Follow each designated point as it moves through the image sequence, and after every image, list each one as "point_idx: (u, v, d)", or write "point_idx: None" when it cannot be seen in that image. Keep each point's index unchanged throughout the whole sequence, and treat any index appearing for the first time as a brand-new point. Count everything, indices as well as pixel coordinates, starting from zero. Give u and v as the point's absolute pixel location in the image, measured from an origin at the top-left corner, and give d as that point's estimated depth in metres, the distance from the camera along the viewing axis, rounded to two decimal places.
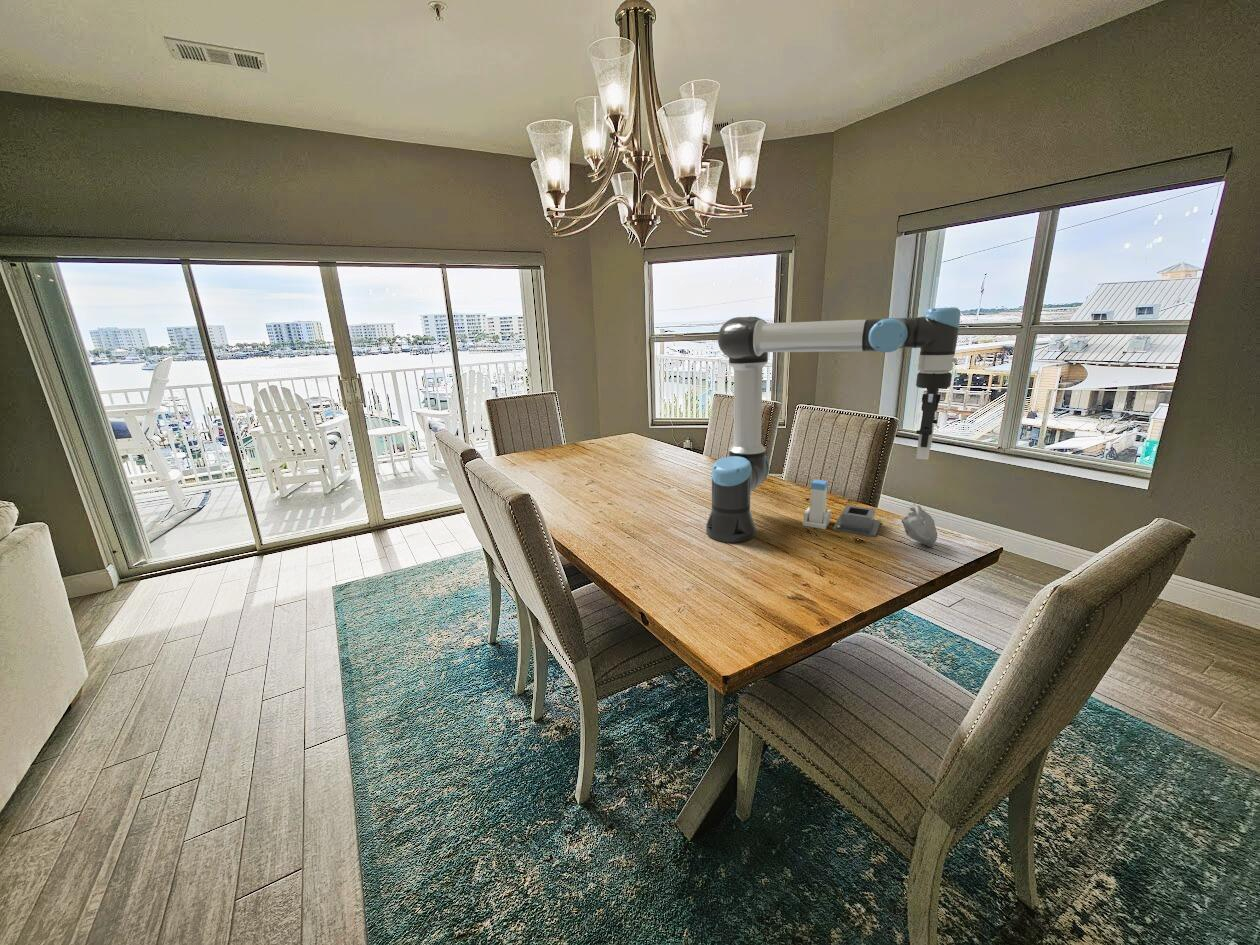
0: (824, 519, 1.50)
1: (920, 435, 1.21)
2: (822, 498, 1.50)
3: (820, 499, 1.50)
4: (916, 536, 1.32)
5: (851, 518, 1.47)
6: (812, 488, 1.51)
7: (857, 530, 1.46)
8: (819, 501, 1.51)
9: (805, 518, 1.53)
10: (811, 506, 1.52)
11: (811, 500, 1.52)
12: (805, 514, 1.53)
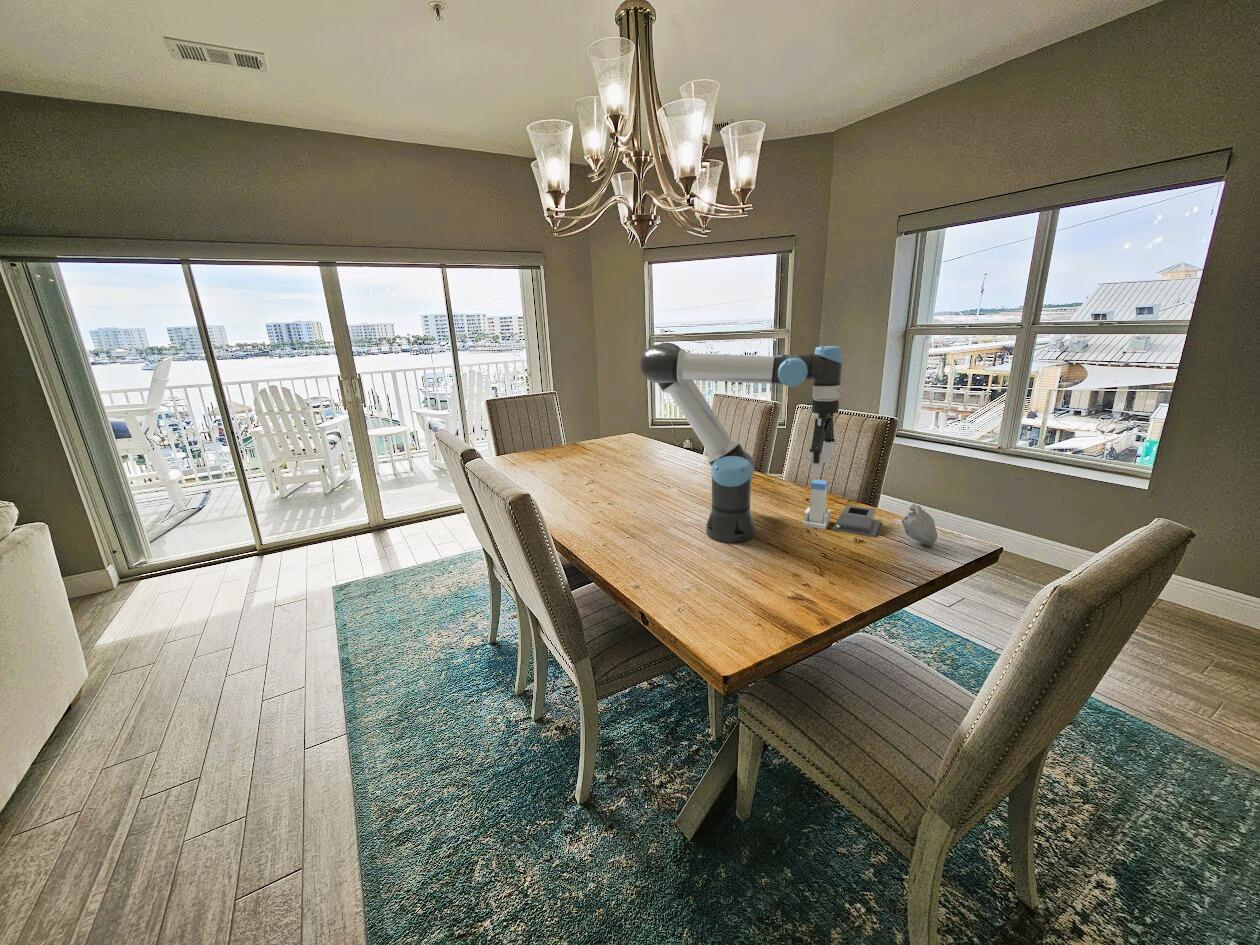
0: (824, 519, 1.50)
1: (813, 453, 1.43)
2: (822, 498, 1.50)
3: (820, 499, 1.50)
4: (916, 536, 1.32)
5: (851, 518, 1.47)
6: (812, 488, 1.51)
7: (857, 530, 1.46)
8: (819, 501, 1.51)
9: (805, 518, 1.53)
10: (811, 506, 1.52)
11: (811, 500, 1.52)
12: (805, 514, 1.53)
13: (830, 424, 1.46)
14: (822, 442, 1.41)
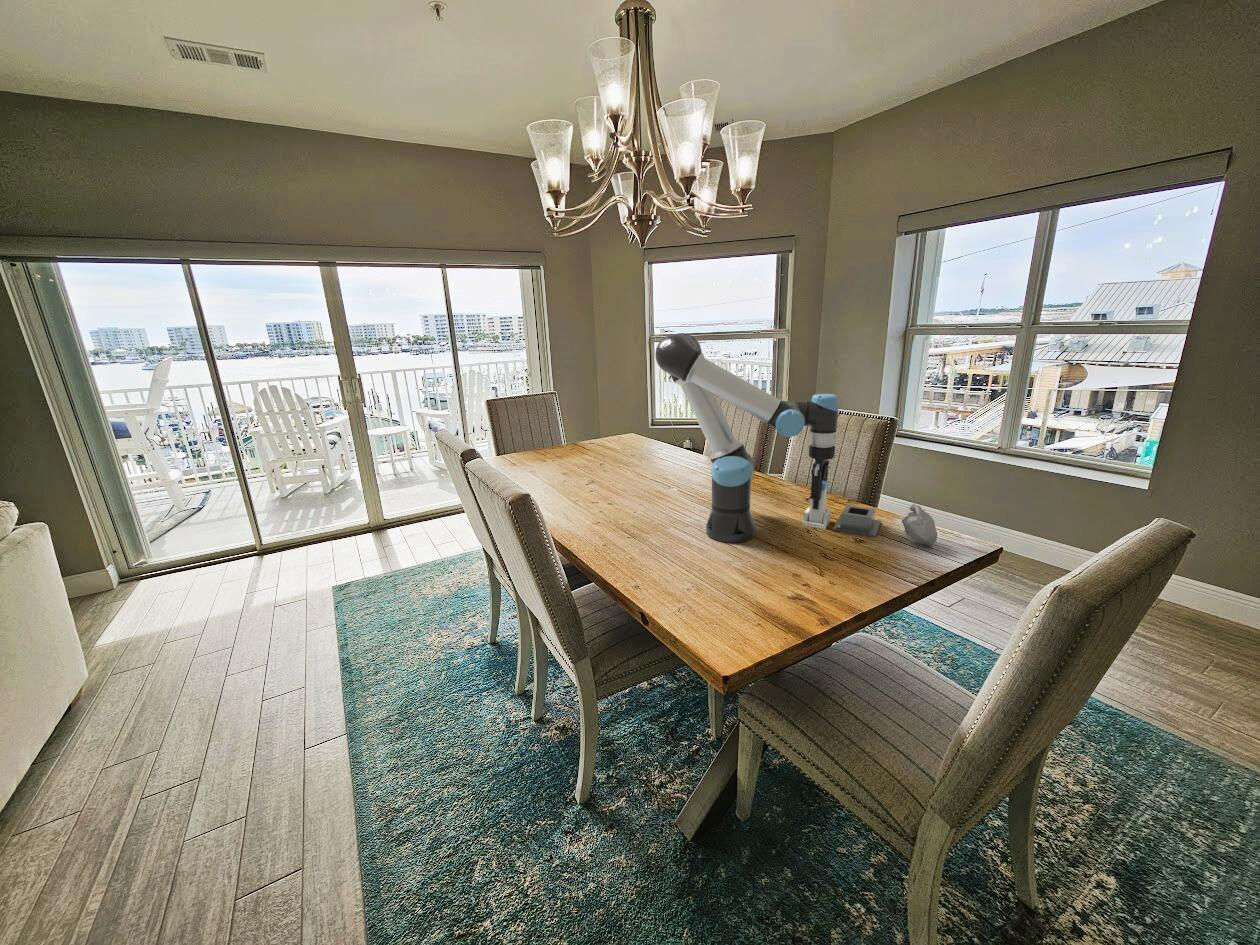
0: (824, 519, 1.50)
1: (813, 499, 1.51)
2: (822, 498, 1.50)
3: None
4: (916, 536, 1.32)
5: (851, 518, 1.47)
6: None
7: (857, 530, 1.46)
8: None
9: (805, 518, 1.53)
10: (811, 506, 1.52)
11: (811, 500, 1.52)
12: (805, 514, 1.53)
13: (826, 469, 1.50)
14: (820, 490, 1.48)
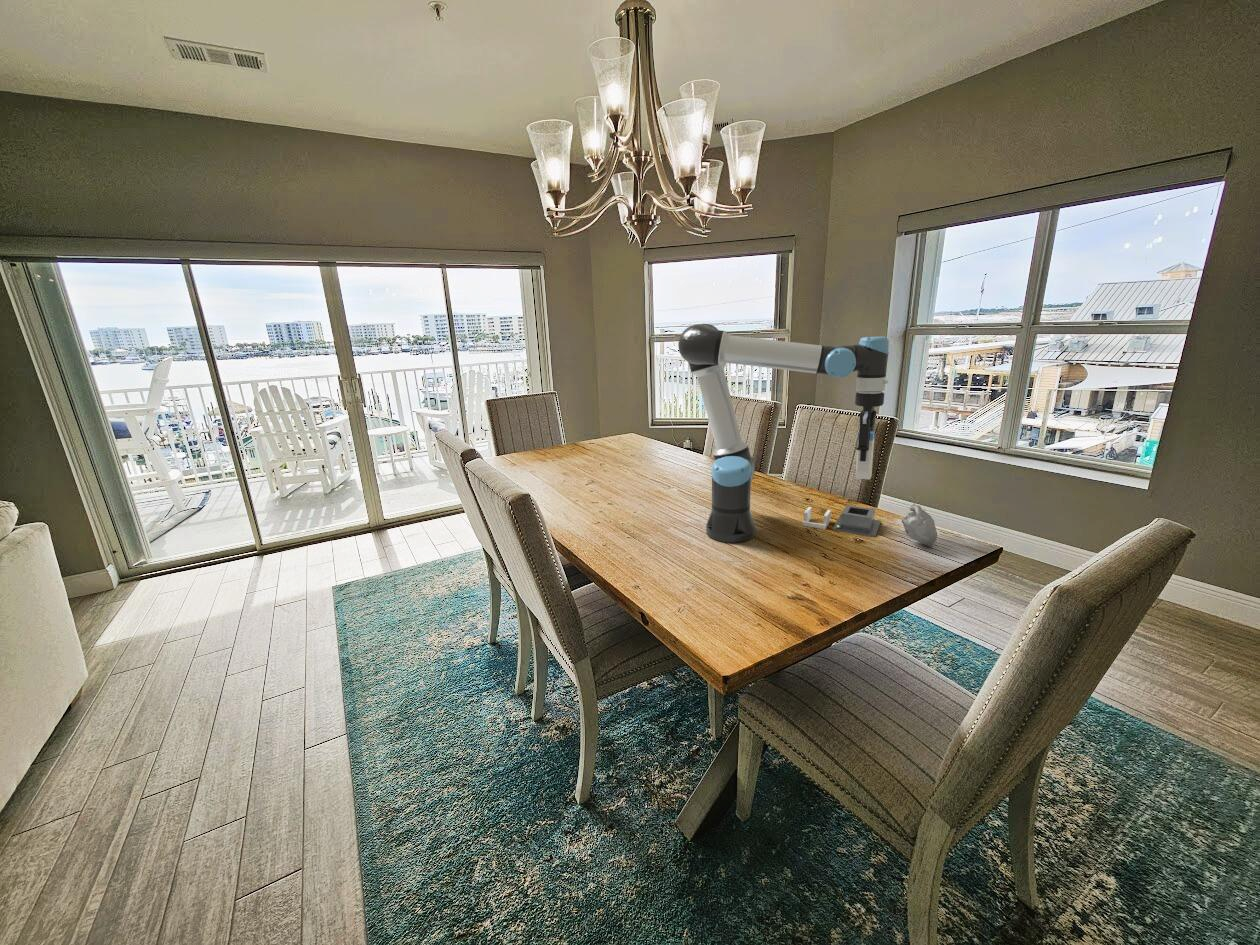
0: (824, 519, 1.50)
1: (859, 451, 1.42)
2: (870, 449, 1.41)
3: None
4: (916, 536, 1.32)
5: (851, 518, 1.47)
6: None
7: (857, 530, 1.46)
8: None
9: (805, 518, 1.53)
10: (857, 458, 1.44)
11: (858, 452, 1.43)
12: (805, 514, 1.53)
13: (873, 418, 1.41)
14: (868, 440, 1.40)
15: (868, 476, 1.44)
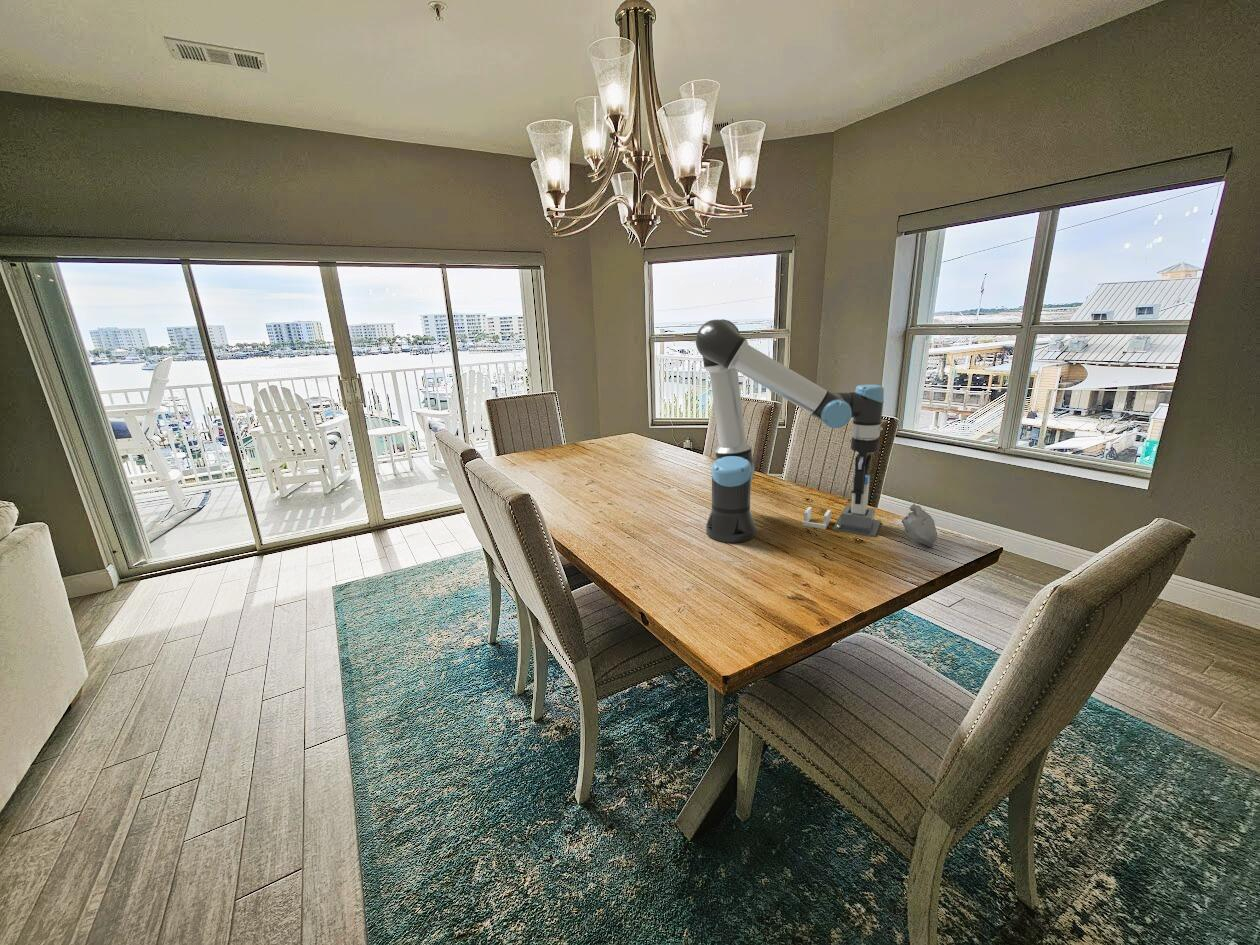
0: (824, 519, 1.50)
1: (855, 494, 1.46)
2: (865, 492, 1.45)
3: None
4: (916, 536, 1.32)
5: (851, 518, 1.47)
6: None
7: (857, 530, 1.46)
8: None
9: (805, 518, 1.53)
10: (852, 501, 1.48)
11: (853, 495, 1.47)
12: (805, 514, 1.53)
13: (869, 462, 1.45)
14: (863, 484, 1.44)
15: None
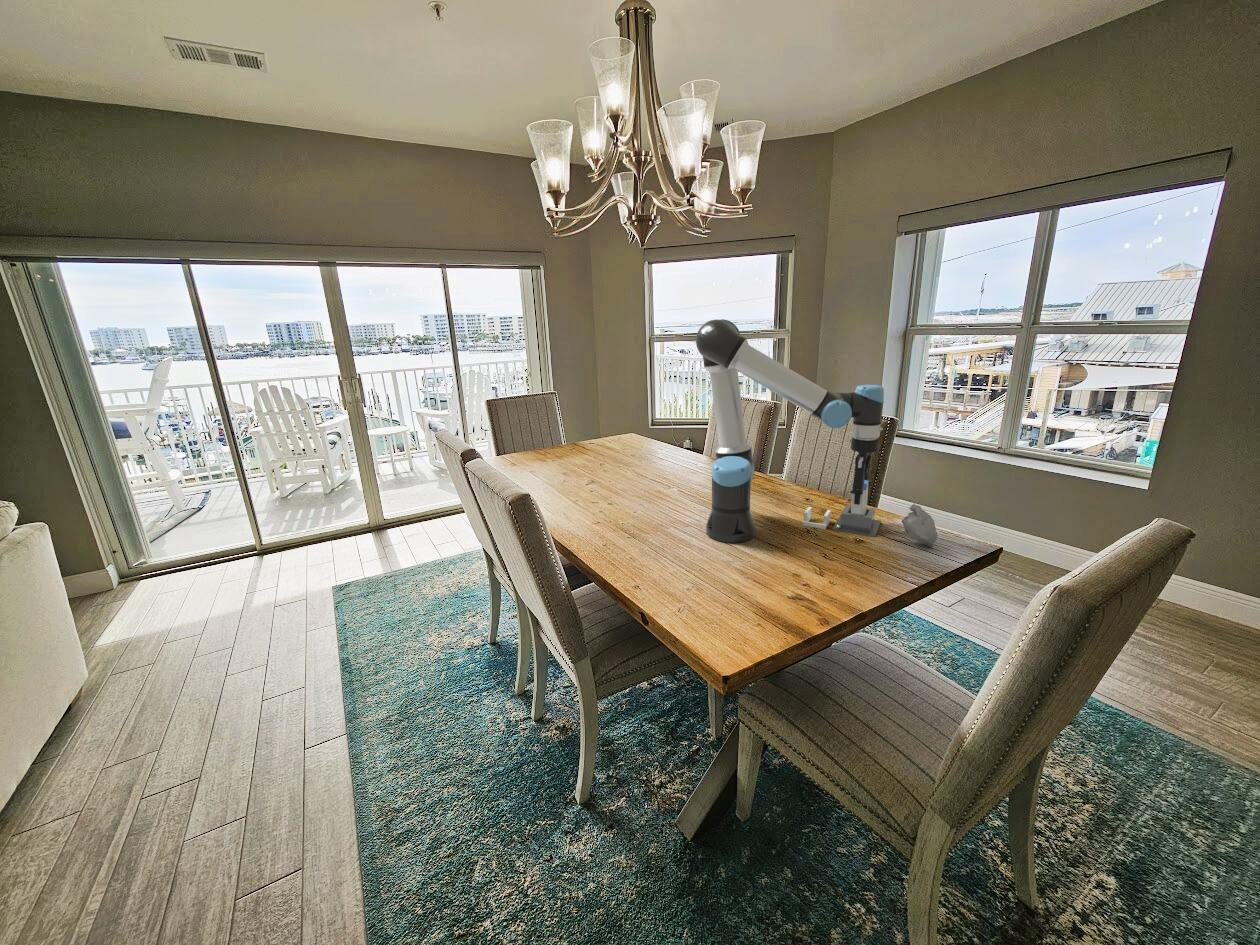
0: (824, 519, 1.50)
1: (854, 494, 1.45)
2: (864, 498, 1.46)
3: None
4: (916, 536, 1.32)
5: (851, 518, 1.47)
6: None
7: (857, 530, 1.46)
8: None
9: (805, 518, 1.53)
10: None
11: None
12: (805, 514, 1.53)
13: (869, 462, 1.45)
14: (863, 484, 1.42)
15: None
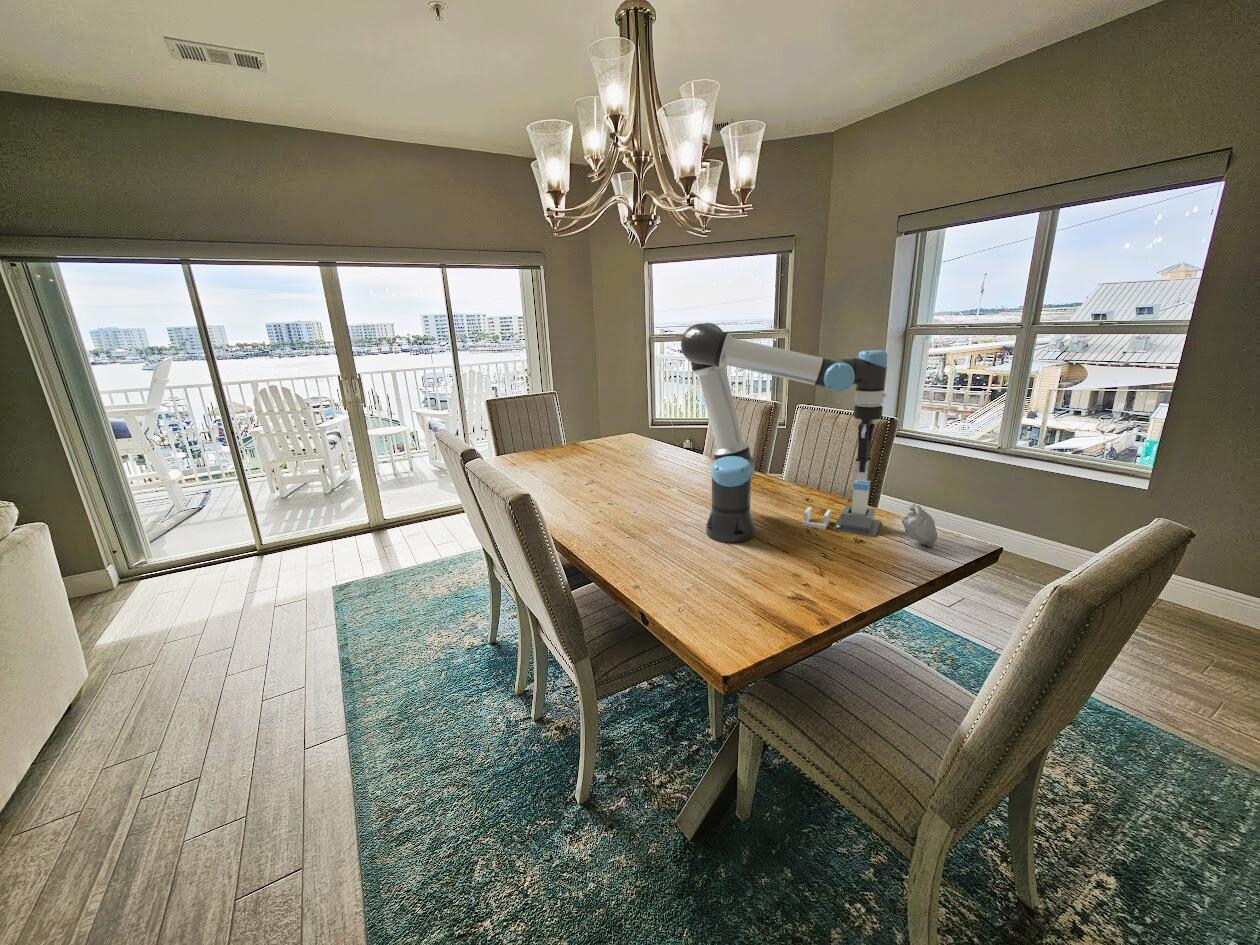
0: (824, 519, 1.50)
1: (859, 462, 1.45)
2: (865, 499, 1.46)
3: (863, 499, 1.46)
4: (916, 536, 1.32)
5: (851, 518, 1.47)
6: (854, 488, 1.47)
7: (857, 530, 1.46)
8: (861, 501, 1.47)
9: (805, 518, 1.53)
10: (852, 507, 1.48)
11: (853, 501, 1.48)
12: (805, 514, 1.53)
13: (872, 430, 1.42)
14: (867, 452, 1.42)
15: None
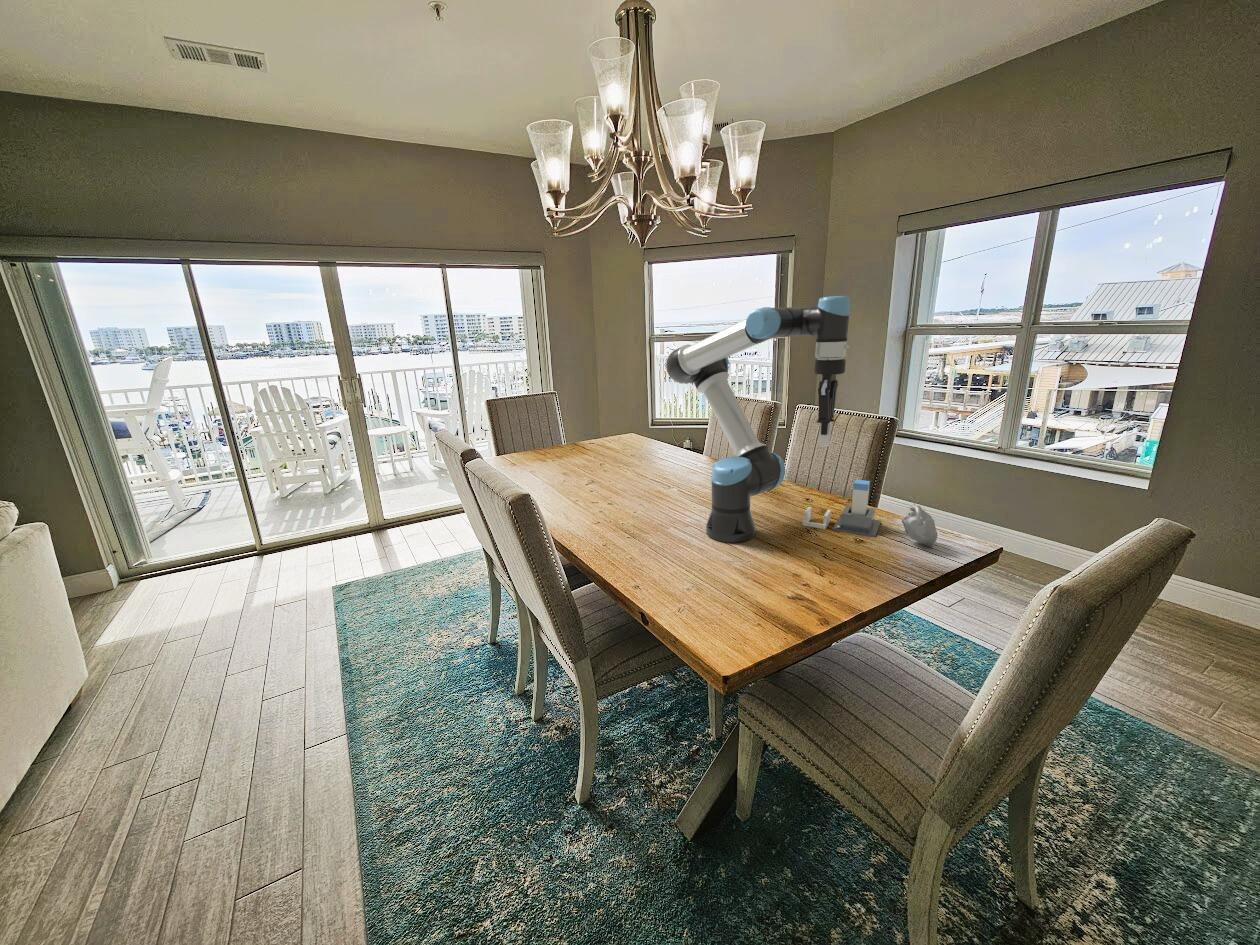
0: (824, 519, 1.50)
1: (821, 424, 1.31)
2: (865, 499, 1.46)
3: (863, 499, 1.46)
4: (916, 536, 1.32)
5: (851, 518, 1.47)
6: (854, 488, 1.47)
7: (857, 530, 1.46)
8: (861, 501, 1.47)
9: (805, 518, 1.53)
10: (852, 507, 1.48)
11: (853, 501, 1.48)
12: (805, 514, 1.53)
13: (834, 388, 1.28)
14: (829, 412, 1.28)
15: None
